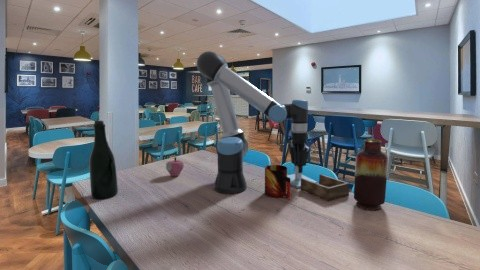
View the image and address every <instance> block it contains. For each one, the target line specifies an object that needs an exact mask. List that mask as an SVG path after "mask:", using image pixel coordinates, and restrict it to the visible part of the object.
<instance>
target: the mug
mask: <svg viewBox="0 0 480 270" xmlns="http://www.w3.org/2000/svg"><path fill="white" fill-rule="evenodd" d="M287 175H288V167H287V166H285V165H281V164H270V165H265V166H264V195H265V196H266V197H267V198H268V197H269V198H273V199H280V198H285V199H287V200H290V199H291V185H290V178H289V177H287Z"/></svg>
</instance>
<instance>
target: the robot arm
mask: <svg viewBox="0 0 480 270" xmlns="http://www.w3.org/2000/svg"><path fill="white" fill-rule="evenodd" d="M196 69H197V71H198V72H199V74H201V75H202V76H203V77H204V78H205V81H206V82H205V83H206V85H207V86H209V87H210V89H211V93H212V96H213V99H214V100H213V101H214V104H215V108H216V111H217V115H218V118H219V123H220V126H221V130H222V131H221V132H222V134H221V137H220V139H219V140H218V141H217V145H216V149H217V150H216V151H217V174H216V177H215V181H214V187H213V188H214V190H215V192H219V193H221V194H222V193H223V194H237V193H242V192H244V191H246V190H247V181H246V178H245V175H244V167H243V166H244V163H243V162H244V160H243V158H244V157H246V155H247V153H248V151H249V144H248V141H247V139H246V137H245V134H244V131H243V130H242V129H240V126H239V123H238V119H237V118H238V117H237V116H236V115H237V114H236V110H235V107H234V103H233V99H232V95H231V92H232V93H233V94H235V95H236V96H238V97H240V98H241V99H242V100H243V101H245V102H247V103H248V104H249V105H251V107H253V108H254V109H257V110H258V111H259V112H261V113H263V115H265V116H266V118H267V120H271V122H273V123H278V124H279V123H281V122H283V121H284V120H291V134H290V135H291V140H292V141H291V143H289V144H288V149H289V154H290V162H291V164H293V165H294V168H293V169H294V170H293V171H294V174H295V179H301V178H302V175H303V174H302V173H303V169H304V168H303V167H304V166H307V164H308V163H307V162H308V157H309V153H310V150H311V147H310V146H308V145H307V140H308V132H307V131H308V119H309V102H308V100H306V99H293V100H292V101H291V103H279V102H277V101H276V100H274V99H273V98H272V97H270V96H268V95H267V93H265V92H263V91H261V90H260V89H258V88H257V87H256V86H255V85H253V84H252V83H251V82H249V81H247V80H246V79H244V78H243V77H242V76H240V75H239V74H237V73H236V72H235V71H233V70H232V69H230V68H229V65H228V63H227V61H226V59H225V58H224V57H223V56H221V55H220V54H217V53H216V52H213V51H211V50H209V51H204V52H202V53H201V54H199V55H198V58H197V60H196Z"/></svg>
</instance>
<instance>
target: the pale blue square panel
mask: <svg viewBox="0 0 480 270" xmlns="http://www.w3.org/2000/svg"><path fill="white" fill-rule="evenodd" d="M287 177H289V178H290V186H292V187H293V188H296V189H301V179H295V173H292V174H287ZM302 178H303V179H306V180H309V181H312V182H315V183H317V184H318V181H316V180H314V179H312V178H310V177H308V176H306V175H304V174H302Z"/></svg>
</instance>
